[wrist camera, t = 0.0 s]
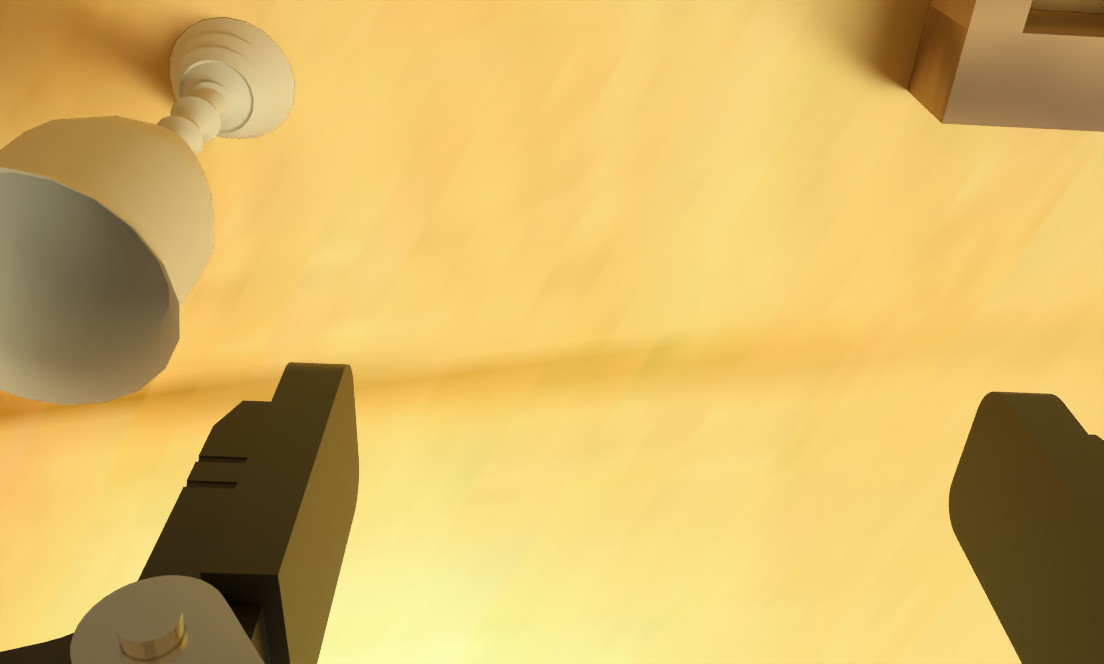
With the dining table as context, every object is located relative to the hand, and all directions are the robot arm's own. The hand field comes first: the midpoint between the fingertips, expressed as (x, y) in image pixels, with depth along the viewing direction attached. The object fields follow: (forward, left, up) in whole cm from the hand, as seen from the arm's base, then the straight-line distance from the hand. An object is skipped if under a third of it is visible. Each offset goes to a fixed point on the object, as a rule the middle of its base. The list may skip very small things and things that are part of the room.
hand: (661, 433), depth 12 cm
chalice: (+5, -14, -30) cm, 33 cm away
